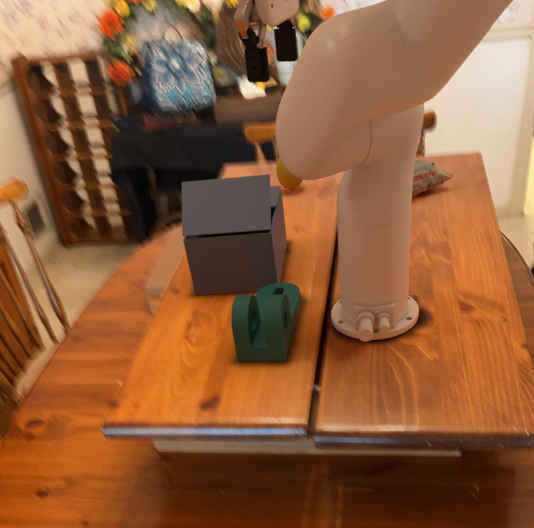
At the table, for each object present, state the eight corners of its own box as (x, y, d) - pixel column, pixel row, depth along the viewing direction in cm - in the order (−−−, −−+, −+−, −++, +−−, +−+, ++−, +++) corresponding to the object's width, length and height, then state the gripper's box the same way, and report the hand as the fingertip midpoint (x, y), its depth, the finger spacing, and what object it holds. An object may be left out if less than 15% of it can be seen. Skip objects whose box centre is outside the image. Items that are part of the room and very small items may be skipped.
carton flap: (270, 229, 96) (270, 229, 96) (182, 236, 98) (182, 235, 98) (270, 175, 96) (269, 174, 96) (182, 183, 98) (181, 182, 98)
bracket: (284, 361, 89) (278, 311, 83) (237, 361, 90) (228, 311, 85) (304, 294, 101) (299, 247, 95) (262, 295, 102) (256, 248, 97)
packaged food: (451, 189, 122) (453, 162, 119) (401, 208, 119) (401, 181, 115) (422, 178, 128) (423, 152, 124) (373, 195, 125) (373, 169, 121)
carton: (278, 290, 103) (271, 229, 96) (195, 295, 105) (182, 235, 98) (287, 242, 115) (281, 185, 108) (212, 248, 117) (201, 192, 110)
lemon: (292, 183, 134) (288, 142, 128) (311, 188, 131) (308, 147, 125) (273, 193, 132) (268, 151, 126) (291, 198, 128) (287, 156, 123)
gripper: (255, -79, 73) (272, 90, 85) (312, -100, 83) (320, 53, 95) (198, -73, 76) (222, 90, 88) (260, -94, 86) (274, 54, 98)
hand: (273, 70), depth 91 cm, fingers open, 9 cm apart
